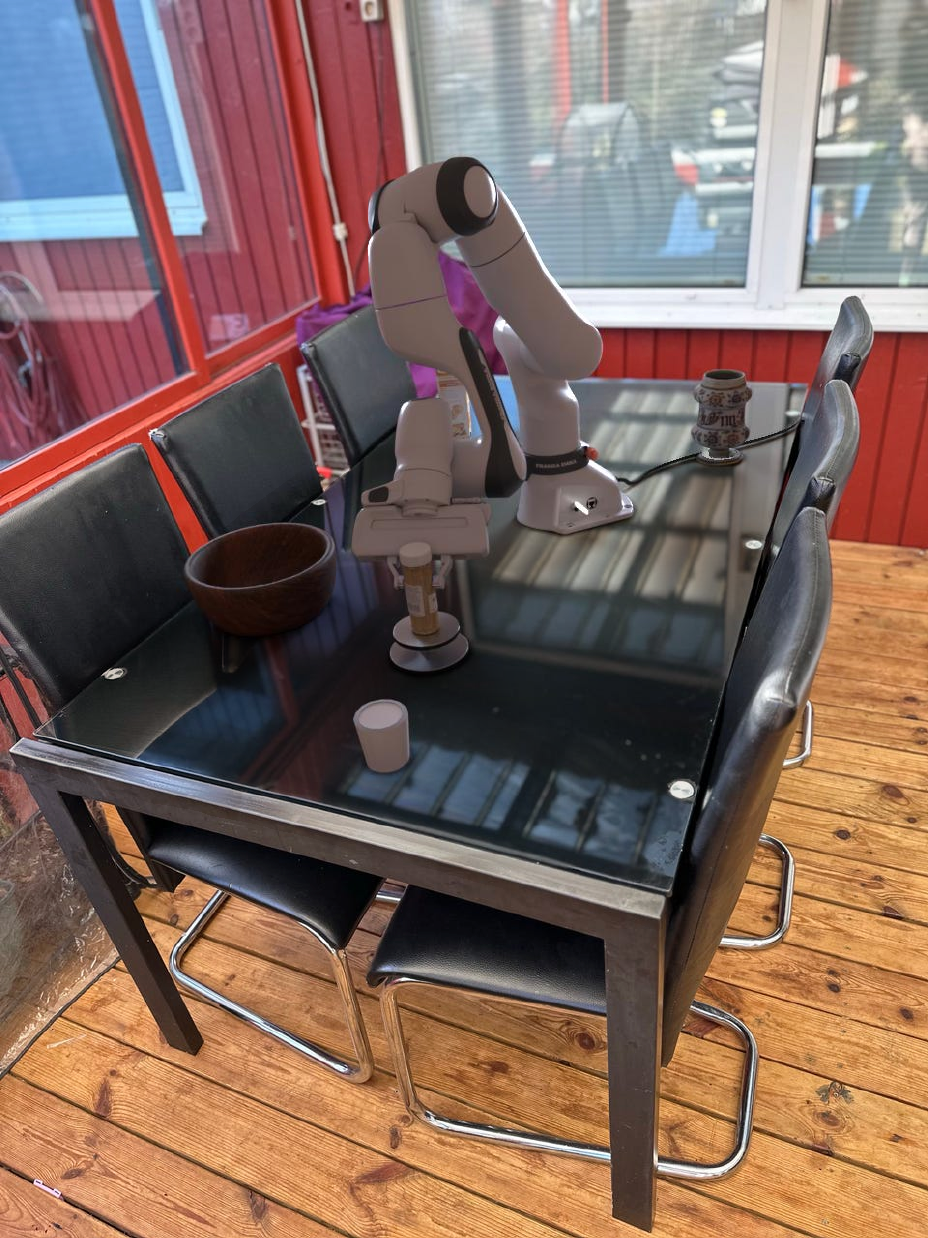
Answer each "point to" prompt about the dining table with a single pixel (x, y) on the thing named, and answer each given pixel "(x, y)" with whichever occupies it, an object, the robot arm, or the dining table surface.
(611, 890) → the dining table surface
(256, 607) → the wooden bowl
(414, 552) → the sprinkles bottle
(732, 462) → the apothecary jar
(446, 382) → the coffeecake box
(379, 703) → the pale pink cup
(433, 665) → the stand
